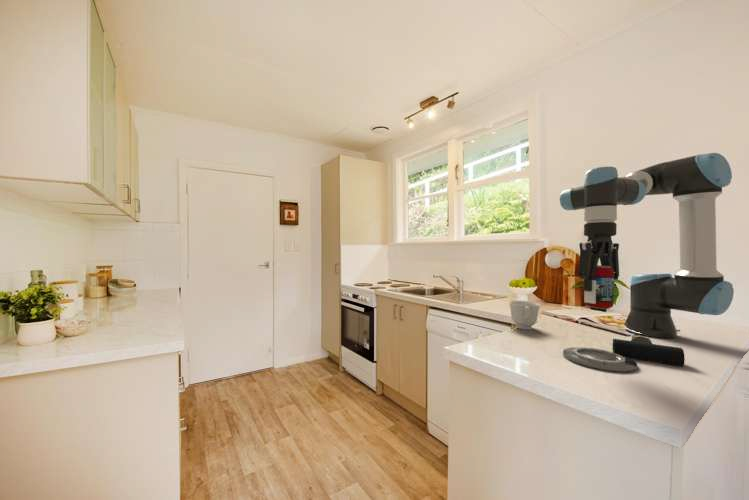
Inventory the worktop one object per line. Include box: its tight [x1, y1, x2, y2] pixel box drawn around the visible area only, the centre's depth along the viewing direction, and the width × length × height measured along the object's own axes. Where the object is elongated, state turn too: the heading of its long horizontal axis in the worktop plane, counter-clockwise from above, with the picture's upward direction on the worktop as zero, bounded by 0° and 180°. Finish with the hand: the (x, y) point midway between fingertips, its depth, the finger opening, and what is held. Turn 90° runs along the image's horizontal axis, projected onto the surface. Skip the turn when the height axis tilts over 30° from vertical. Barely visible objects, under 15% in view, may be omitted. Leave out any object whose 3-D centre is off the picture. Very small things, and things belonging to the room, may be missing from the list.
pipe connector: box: [612, 335, 686, 367], centre depth 91 cm, size 12×5×15 cm
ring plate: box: [562, 346, 638, 374], centre depth 87 cm, size 17×17×2 cm
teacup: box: [507, 300, 542, 330], centre depth 121 cm, size 12×15×10 cm
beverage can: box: [583, 264, 615, 310], centre depth 87 cm, size 7×7×12 cm
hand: (598, 302), depth 87 cm, fingers closed on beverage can, 7 cm apart
